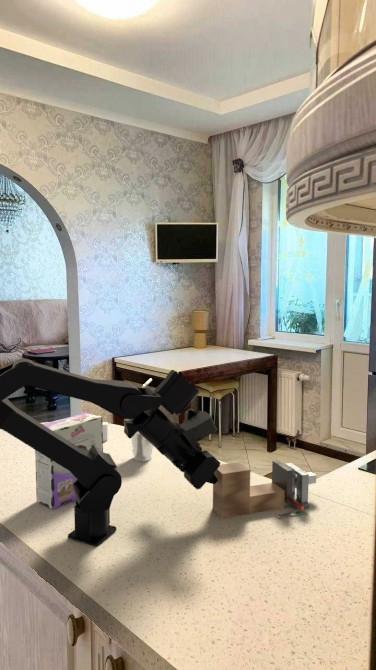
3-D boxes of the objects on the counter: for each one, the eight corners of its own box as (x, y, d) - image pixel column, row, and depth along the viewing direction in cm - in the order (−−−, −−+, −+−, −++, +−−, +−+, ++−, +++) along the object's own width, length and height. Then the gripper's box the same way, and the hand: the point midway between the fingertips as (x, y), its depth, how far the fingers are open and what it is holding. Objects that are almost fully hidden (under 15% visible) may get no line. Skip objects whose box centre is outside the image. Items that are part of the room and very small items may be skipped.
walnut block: (221, 518, 98) (222, 473, 97) (212, 508, 102) (213, 465, 101) (284, 507, 103) (285, 464, 102) (273, 498, 107) (274, 457, 106)
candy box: (87, 481, 115) (86, 411, 113) (104, 488, 111) (103, 415, 109) (35, 501, 104) (33, 424, 103) (52, 510, 101) (50, 430, 99)
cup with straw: (119, 457, 130) (118, 381, 128) (147, 449, 136) (146, 377, 134) (139, 466, 124) (139, 387, 122) (167, 458, 130) (167, 382, 128)
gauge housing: (278, 518, 98) (279, 485, 97) (253, 497, 107) (254, 466, 106) (315, 512, 101) (316, 479, 100) (288, 491, 110) (289, 461, 109)
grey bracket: (296, 510, 98) (297, 477, 98) (271, 491, 107) (272, 460, 107) (331, 504, 101) (333, 471, 101) (305, 485, 110) (306, 456, 109)
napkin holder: (55, 441, 144) (55, 422, 143) (85, 432, 153) (84, 413, 152) (93, 452, 135) (92, 431, 135) (121, 441, 145) (121, 422, 144)
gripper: (210, 413, 86) (265, 466, 92) (175, 390, 104) (223, 436, 109) (166, 462, 85) (225, 514, 90) (138, 431, 102) (188, 476, 107)
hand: (215, 481), depth 99 cm, fingers closed
